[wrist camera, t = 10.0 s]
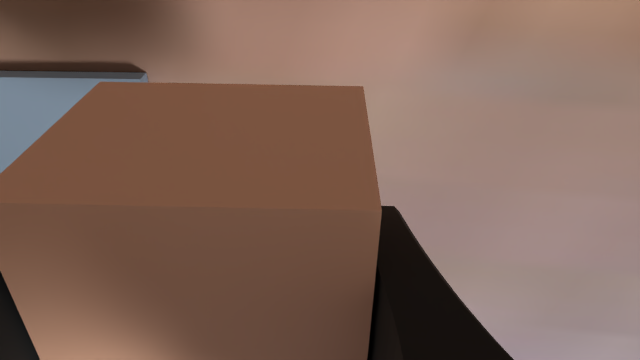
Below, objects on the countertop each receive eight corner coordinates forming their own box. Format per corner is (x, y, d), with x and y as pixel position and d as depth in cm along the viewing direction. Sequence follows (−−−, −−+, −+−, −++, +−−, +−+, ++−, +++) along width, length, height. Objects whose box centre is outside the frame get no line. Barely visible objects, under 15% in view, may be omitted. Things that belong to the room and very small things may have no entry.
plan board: (212, 421, 27) (209, 434, 27) (-23, 417, 27) (-31, 429, 27) (146, 72, 16) (139, 80, 16) (-240, 67, 17) (-261, 75, 16)
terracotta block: (350, 280, 12) (358, 442, 9) (146, 276, 12) (73, 435, 9) (363, 86, 9) (382, 210, 6) (99, 81, 9) (-31, 202, 6)
